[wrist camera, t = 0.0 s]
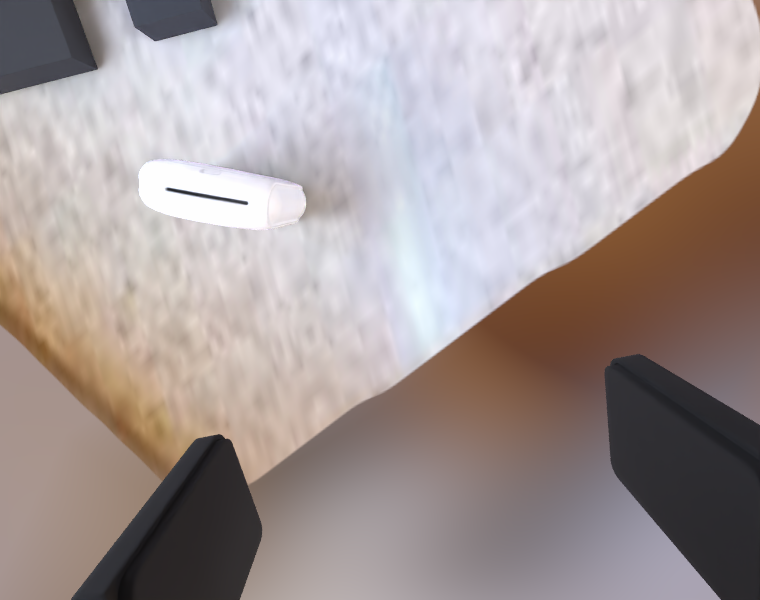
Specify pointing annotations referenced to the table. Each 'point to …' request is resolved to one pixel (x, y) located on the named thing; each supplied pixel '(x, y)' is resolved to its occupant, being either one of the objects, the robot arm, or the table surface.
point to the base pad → (41, 43)
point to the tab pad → (170, 16)
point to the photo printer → (220, 195)
